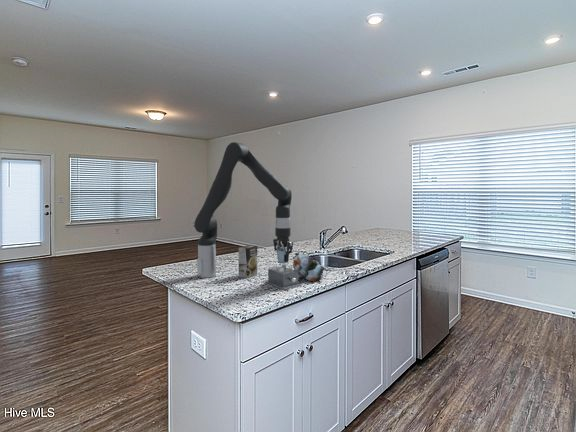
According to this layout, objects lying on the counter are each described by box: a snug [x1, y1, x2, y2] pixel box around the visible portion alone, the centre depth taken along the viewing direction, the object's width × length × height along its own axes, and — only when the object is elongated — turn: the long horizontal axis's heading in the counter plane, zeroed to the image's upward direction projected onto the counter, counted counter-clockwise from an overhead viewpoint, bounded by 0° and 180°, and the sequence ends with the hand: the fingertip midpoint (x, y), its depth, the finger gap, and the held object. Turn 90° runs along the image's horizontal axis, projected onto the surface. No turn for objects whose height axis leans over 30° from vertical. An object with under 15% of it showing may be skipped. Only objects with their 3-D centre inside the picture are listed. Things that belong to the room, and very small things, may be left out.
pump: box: [277, 248, 289, 264], centre depth 160 cm, size 5×5×7 cm
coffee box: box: [238, 244, 258, 279], centre depth 176 cm, size 9×6×16 cm
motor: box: [265, 263, 302, 291], centre depth 160 cm, size 11×17×9 cm, turn 37°
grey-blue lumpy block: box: [292, 252, 325, 283], centre depth 171 cm, size 17×14×16 cm
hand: (282, 260), depth 160 cm, fingers closed on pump, 5 cm apart
